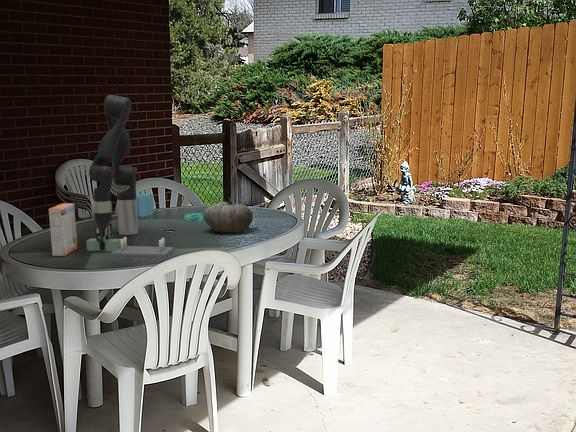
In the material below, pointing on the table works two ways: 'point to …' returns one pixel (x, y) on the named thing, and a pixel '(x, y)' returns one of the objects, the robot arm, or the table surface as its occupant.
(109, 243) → the green rectangular block
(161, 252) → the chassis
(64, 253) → the cracker box
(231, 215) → the gourd
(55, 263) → the table surface
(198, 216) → the alien figure
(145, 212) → the light blue block
